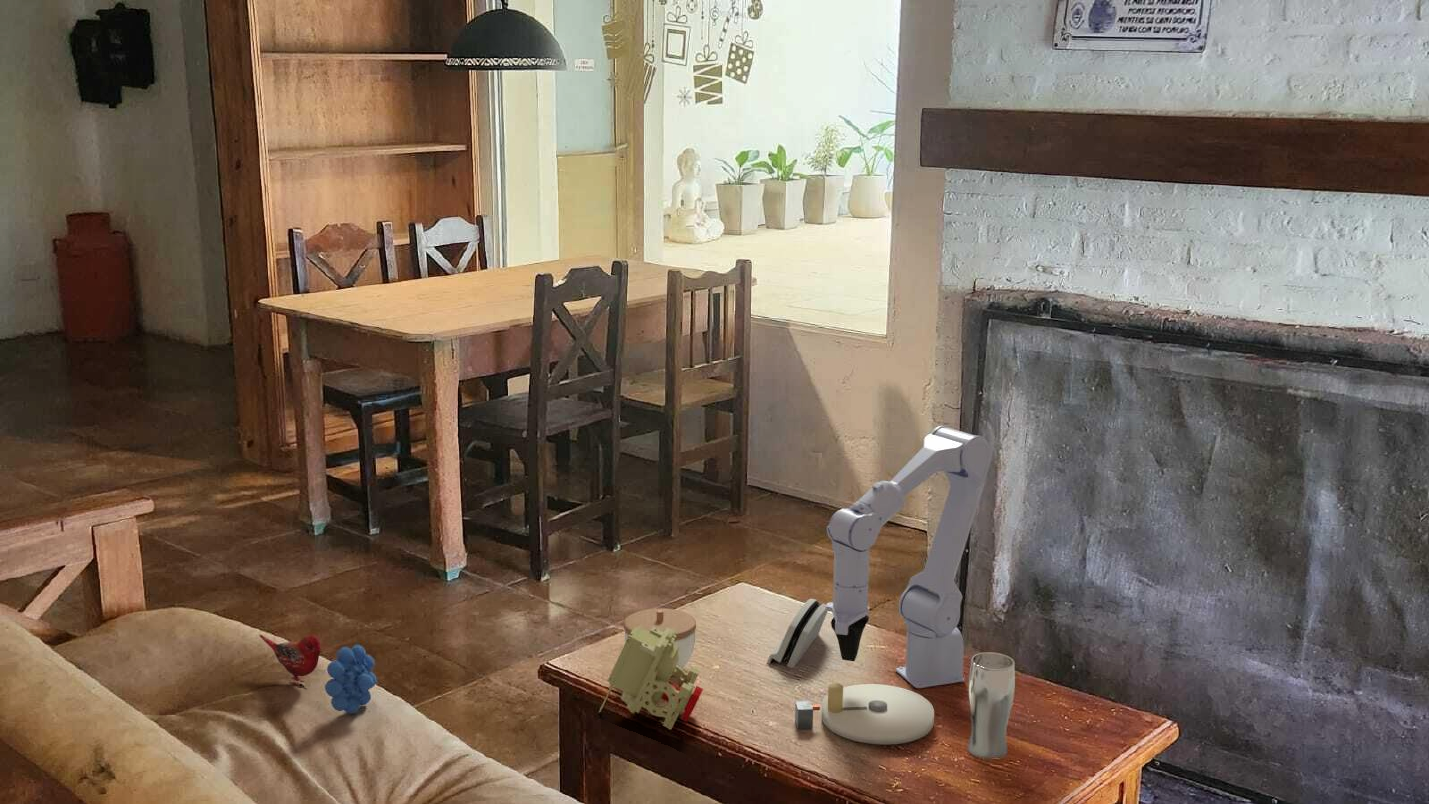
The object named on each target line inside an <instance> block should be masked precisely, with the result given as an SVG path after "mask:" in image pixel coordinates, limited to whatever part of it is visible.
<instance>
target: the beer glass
mask: <svg viewBox="0 0 1429 804" xmlns="http://www.w3.org/2000/svg"><path fill="white" fill-rule="evenodd" d="M1015 665H1016V663H1015V660H1014V659H1013V658H1012V657H1010V656H1009V655H1005V654H1004V653H1000V652H994V651H993V652H991V651H987V652H977V653H975V654H974V655H972V656H971V658H970V667H969V672H968V673H969V674H968V683H967V684H968V685H967V689H968V690H967V693H968V694H967V695H968V696H967V697H968V703H969V713H970V720H971V728H970V729H971V730H970V736H969V738H968V739H969V740H968V744H967V751H968V752H969V754H971V755H972V756H974V757H976V756H977V757H976V758H978V757H981V758H984V759H983V760H987V759H992V758H993V759H994V758H1001V757H1003V756H1005V755H1006V754H1007V755H1008V744H1007V728H1008V723H1009V718H1010V714H1011V711H1012V706H1013V702H1014V697H1015V690H1016V689H1015V688H1016V687H1015V685H1016V684H1015V683H1016V679H1015V676H1016V674H1015V670H1016V669H1015ZM1007 755H1006V756H1007ZM1006 756H1005V757H1006ZM981 758H980V759H981ZM1003 758H1004V757H1003ZM1001 759H1002V758H1001Z"/></svg>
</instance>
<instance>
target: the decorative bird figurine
mask: <svg viewBox="0 0 1429 804" xmlns="http://www.w3.org/2000/svg"><path fill="white" fill-rule="evenodd" d="M259 637H260V638H261V640H263V642H264V643H266V644H267V646H269V647H270V648H271V649H272V651H273V652H274V654H275V656H276V659H277V661H278V662H279V663H280V664H281V665H282V666H283V668H285V669H286V670H287V672H288V673H290V674H292V677H291V678H290V679H291V680H296V681H300V682H305V681H303V680H302V679H301V678H300V677H304V676H308V675H310V674H312V673H313V672H314V671H315V670H316V668H317V666H318V663H319V660H320V659H319V658H320V655H321V653H322V652H323V650H322V647H321V642H320V640H319V638H318V637H317V636H316V635H314V634H311V635H310V634H309V635H307V636H304V637H303V638H302V639H301V640H300V641H286V642H285V641H284V642H282V643H278V644H277V643H276V642H274V641H272V640H271V639H269V638H267V637H266V636H264V635H262V634H259ZM301 680H302V681H301Z"/></svg>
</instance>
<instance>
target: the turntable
mask: <svg viewBox="0 0 1429 804" xmlns="http://www.w3.org/2000/svg"><path fill="white" fill-rule="evenodd" d="M827 687H828V688H827V694H826V696H825V697H824V698H823V700H822V703H821V721H822V722H823V724H824V726H826V728H828V729H829V730H830V731H831V732H833V733H835V734H836V735H838V736H840V737H843V738H845V739H849V740H850V741H855V742H859V743H864V744H871V745H898V744H899V745H901V744H905V743H910V742H914V741H916V740H920V739H921V738H923V737H925V736H926V735H928V734H929V733H930V732H931V731H932V730H933V727H934V724H935V722H934V721H935V710H934V707H933V704H932V703H931V702H930V701H929V700H928V699H927V698H925V697H924V696H922V695H921V694H919V693H917V692H915V691H913V690H909V689H907V688H904V687H903V688H902V687H899V686H895V685H889V684H881V683H880V684H878V683H865V684H864V683H863V684H852V685H849V686H848V685H847V686H844V685H843V684H840V683H837V682H836V683H835V682H832V683H830V684H828V685H827Z"/></svg>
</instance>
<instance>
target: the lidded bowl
mask: <svg viewBox="0 0 1429 804" xmlns="http://www.w3.org/2000/svg"><path fill="white" fill-rule="evenodd" d="M638 626H639V627H641V629H644V630H646V631H648V632H650V630H651V629H652V627H654V628H656V629H658V630H660V631H662V632H664V631H665V630H666V628H667V627H668V628H670V629H671V628H672V629H674V630H675V632H674V635H676V638H675V640H674V643H673V644H674V645H676V646H678V647H679V648H678V653H677V654H678V656H679V661H678V663H677V665H678V666H679V667H681V668H682V669H683V668H685V666H686V665H687V664H688V663H689V661H690V659H691V657H692V655H693V653H694V648H695V642H696V628H697V621H696V619H695V617H694V616H693V615H691V614H690V613H688V612H685V611H682V610H679V609H673V608H664V607H663V608H649V609H643V610H638V611H636V612H633V613H631V614H630V615H628V616H627V617H626V618H625V619H624V621H623V629H624V642H625V643H626V641H627V638H628V636H629V635H630V633H631V632H632V630H633V629H634V627H638ZM625 643H624V644H625ZM675 670H676V669H675ZM672 675H673V674H672Z"/></svg>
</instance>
